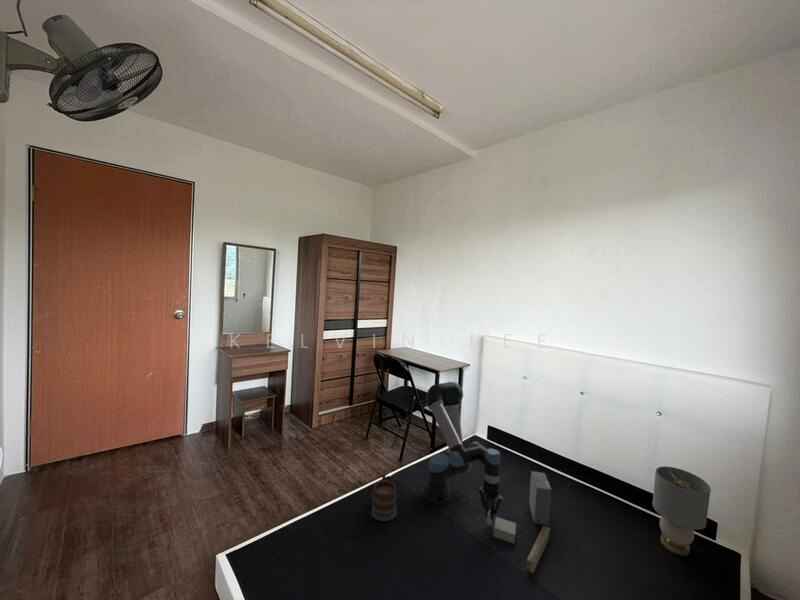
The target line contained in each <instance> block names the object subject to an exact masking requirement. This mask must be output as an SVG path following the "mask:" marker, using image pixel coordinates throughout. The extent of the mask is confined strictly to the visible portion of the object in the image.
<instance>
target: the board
mask: <svg viewBox="0 0 800 600" xmlns="http://www.w3.org/2000/svg"><path fill="white" fill-rule="evenodd" d="M550 532H551V527H548V526H547V525H542V527H541V530H540V532H539V534H538V536H537V538H536V540H535V542H534V544H533V546H532V549H531V550H530V552H529V555H528V556H527V558H526V570H525V571H528V573H529V572H530V573H531V574H534V573H535V571H536V568H537V566H538V564H539V562H540V560H541V557H542V556H543V555H542V554H543V553H544V550H545V548H546V547H547V543H548V541H549V539H550V534H551V533H550Z"/></svg>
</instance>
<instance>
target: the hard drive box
mask: <svg viewBox="0 0 800 600" xmlns="http://www.w3.org/2000/svg"><path fill="white" fill-rule="evenodd" d="M530 472H531V473H530V484H529V485H530V487H529V498H528V505H529V509H530V512H531V517H532V520H533V523H534V524H538V525H542V526H550V515H551V514H550V513H551V503H552V502H551V501H552V491H553V490H552V488H551V486H550V483H549V480H548V478H547V475H546V473H545V472H539V471H533V470H532V471H530Z"/></svg>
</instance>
